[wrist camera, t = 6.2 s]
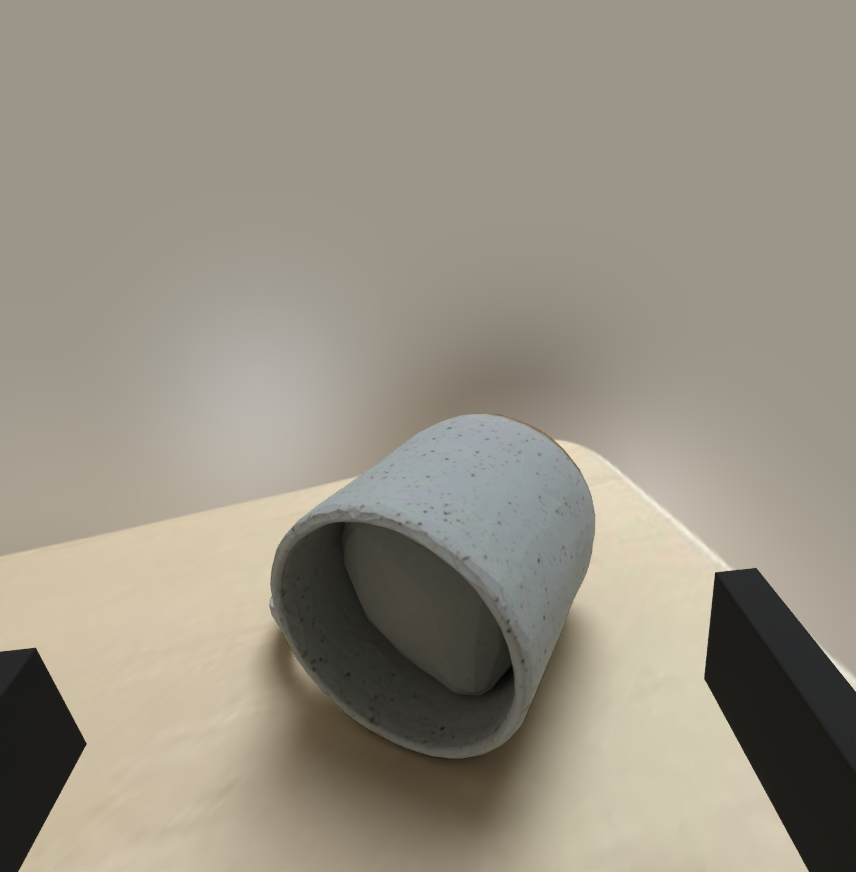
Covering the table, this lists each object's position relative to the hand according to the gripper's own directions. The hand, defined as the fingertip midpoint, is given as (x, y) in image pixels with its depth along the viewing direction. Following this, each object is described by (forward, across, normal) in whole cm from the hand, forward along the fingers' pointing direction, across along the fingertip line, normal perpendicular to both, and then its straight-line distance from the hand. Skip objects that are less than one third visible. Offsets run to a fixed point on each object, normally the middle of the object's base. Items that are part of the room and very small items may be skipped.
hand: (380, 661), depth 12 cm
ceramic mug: (+7, 0, -6) cm, 9 cm away
